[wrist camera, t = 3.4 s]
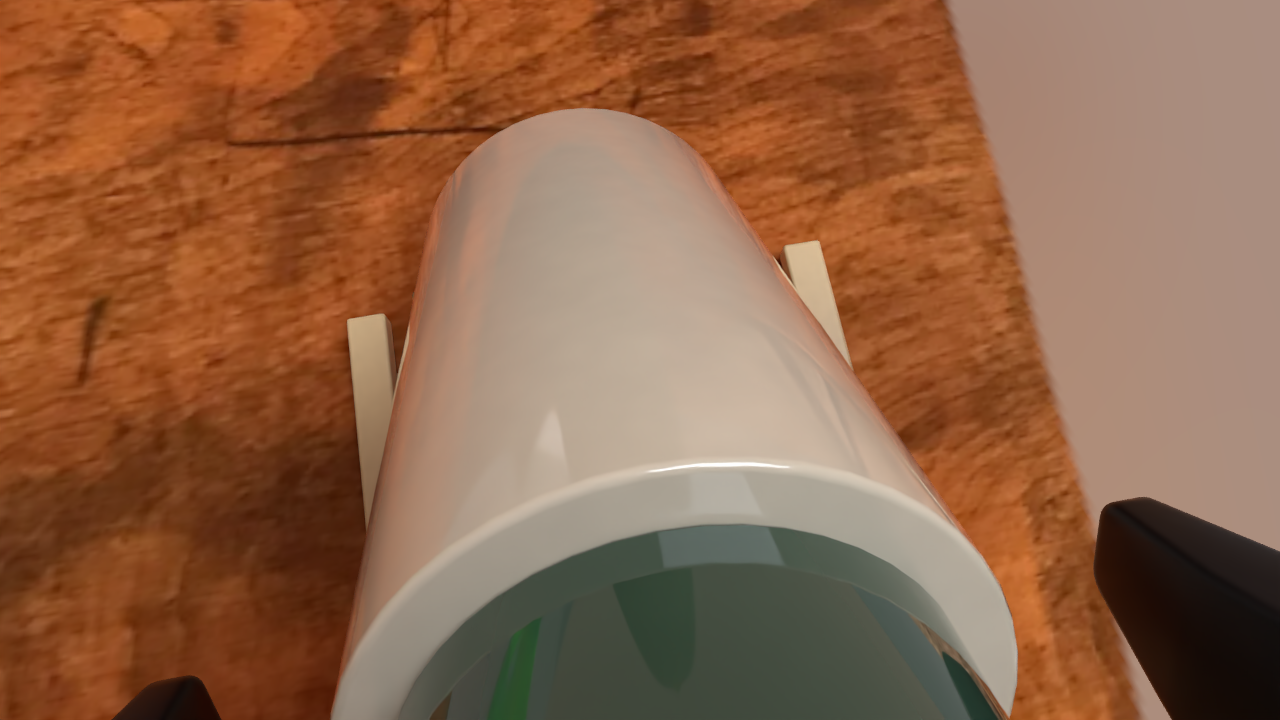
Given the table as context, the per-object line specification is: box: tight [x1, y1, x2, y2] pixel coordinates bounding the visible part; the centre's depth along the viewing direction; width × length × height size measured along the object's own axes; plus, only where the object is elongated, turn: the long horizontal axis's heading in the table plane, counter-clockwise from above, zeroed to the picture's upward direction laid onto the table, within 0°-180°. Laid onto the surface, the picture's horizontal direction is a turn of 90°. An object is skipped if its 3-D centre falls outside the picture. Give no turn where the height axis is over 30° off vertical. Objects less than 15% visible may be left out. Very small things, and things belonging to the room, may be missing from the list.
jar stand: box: [347, 240, 854, 533], centre depth 15 cm, size 13×10×6 cm
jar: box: [330, 108, 1018, 720], centre depth 12 cm, size 13×6×13 cm, turn 10°
